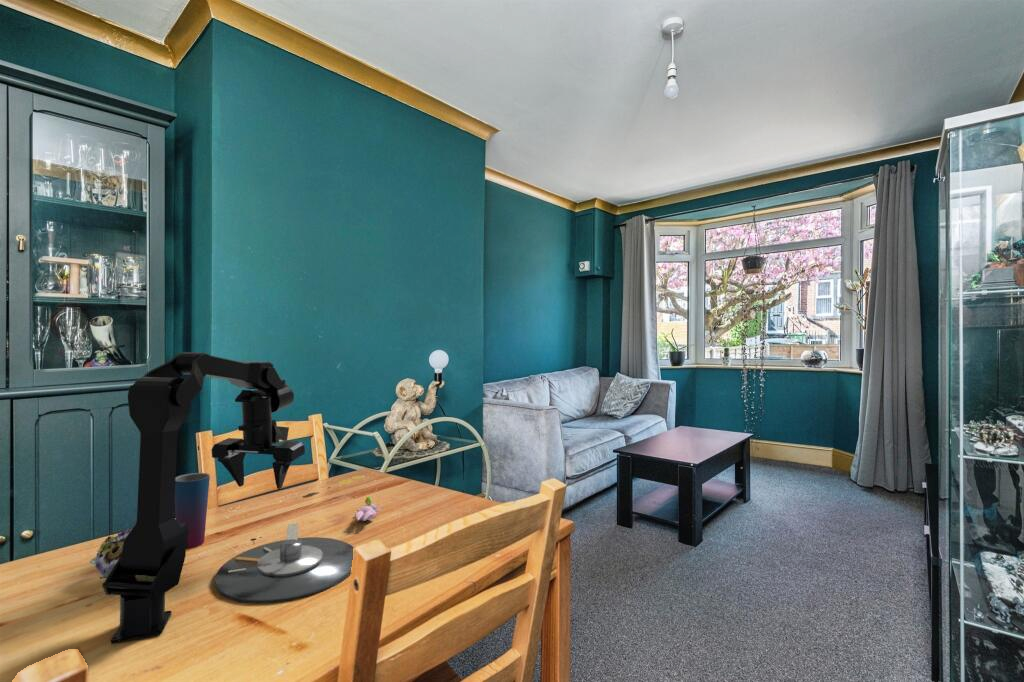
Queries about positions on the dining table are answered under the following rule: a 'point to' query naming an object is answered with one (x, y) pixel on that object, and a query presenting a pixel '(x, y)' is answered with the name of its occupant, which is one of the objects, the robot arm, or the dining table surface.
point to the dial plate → (254, 587)
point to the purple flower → (367, 511)
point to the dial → (290, 556)
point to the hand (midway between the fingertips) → (260, 487)
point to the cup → (192, 505)
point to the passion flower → (110, 554)
